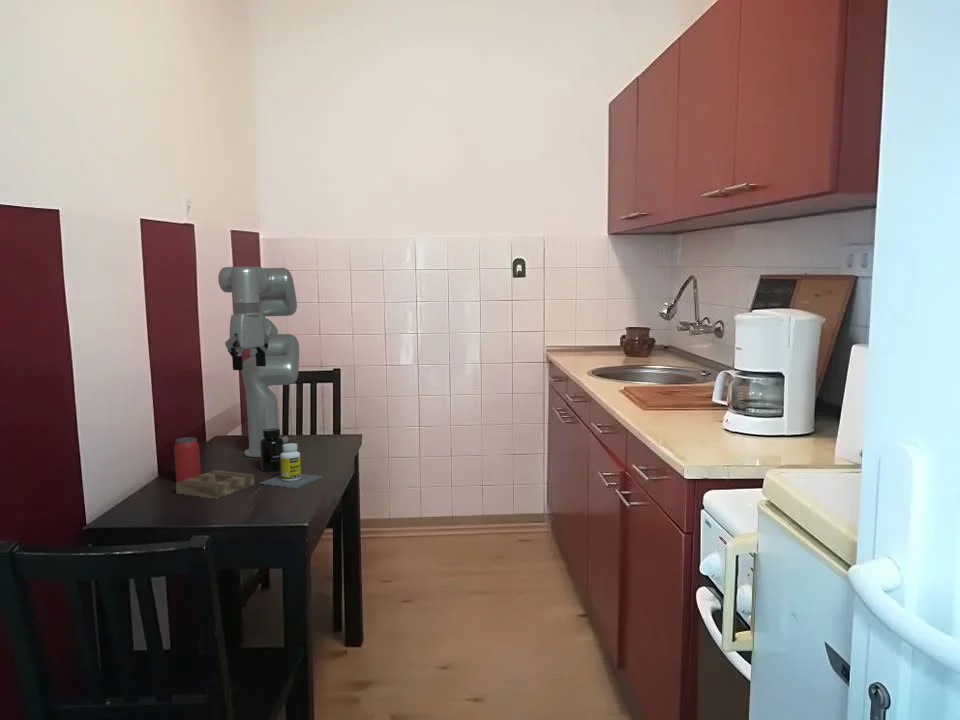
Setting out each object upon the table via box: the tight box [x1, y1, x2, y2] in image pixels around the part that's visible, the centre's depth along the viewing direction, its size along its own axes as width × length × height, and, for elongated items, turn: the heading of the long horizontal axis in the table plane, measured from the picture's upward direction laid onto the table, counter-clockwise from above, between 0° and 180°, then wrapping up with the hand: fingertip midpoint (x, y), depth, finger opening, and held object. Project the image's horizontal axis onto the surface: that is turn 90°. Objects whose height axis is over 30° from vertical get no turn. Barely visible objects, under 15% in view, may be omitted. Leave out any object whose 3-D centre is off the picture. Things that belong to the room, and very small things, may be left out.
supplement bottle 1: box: [260, 428, 285, 473], centre depth 225 cm, size 7×7×12 cm
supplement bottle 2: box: [280, 442, 302, 481], centre depth 211 cm, size 5×5×10 cm
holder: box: [175, 469, 255, 500], centre depth 204 cm, size 14×14×3 cm
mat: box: [259, 473, 323, 489], centre depth 211 cm, size 12×12×1 cm
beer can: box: [173, 436, 202, 482], centre depth 214 cm, size 7×7×12 cm
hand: (249, 368), depth 222 cm, fingers open, 9 cm apart
